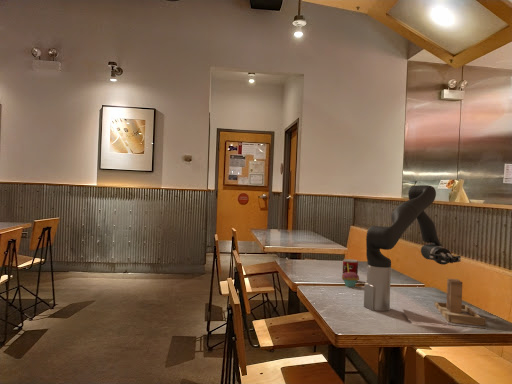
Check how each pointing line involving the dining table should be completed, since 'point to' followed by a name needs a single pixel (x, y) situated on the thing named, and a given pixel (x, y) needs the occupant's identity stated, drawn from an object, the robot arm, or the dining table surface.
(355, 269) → the canned food
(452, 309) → the walnut block
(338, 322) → the dining table surface
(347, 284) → the cupcake
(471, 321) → the tray
